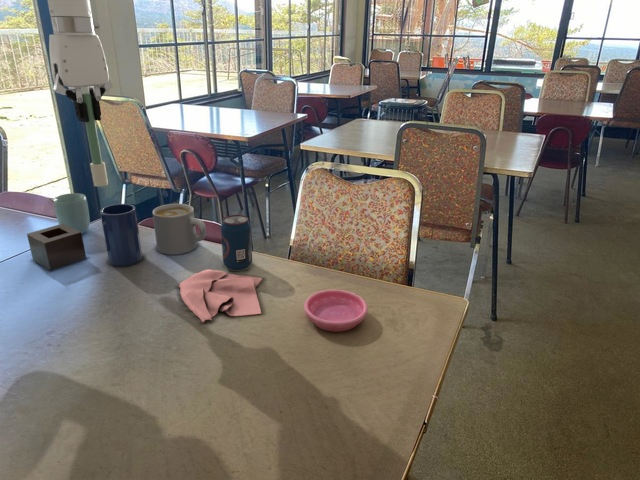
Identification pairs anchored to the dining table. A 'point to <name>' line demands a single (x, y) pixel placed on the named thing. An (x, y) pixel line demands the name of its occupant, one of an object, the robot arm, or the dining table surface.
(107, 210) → the tumbler
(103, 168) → the brush
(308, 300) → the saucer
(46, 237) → the stand
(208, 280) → the cloth
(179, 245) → the coffee mug
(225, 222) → the soda can
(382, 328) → the dining table surface
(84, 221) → the cup
